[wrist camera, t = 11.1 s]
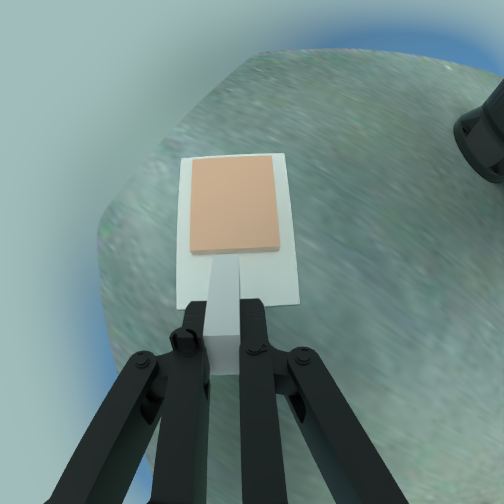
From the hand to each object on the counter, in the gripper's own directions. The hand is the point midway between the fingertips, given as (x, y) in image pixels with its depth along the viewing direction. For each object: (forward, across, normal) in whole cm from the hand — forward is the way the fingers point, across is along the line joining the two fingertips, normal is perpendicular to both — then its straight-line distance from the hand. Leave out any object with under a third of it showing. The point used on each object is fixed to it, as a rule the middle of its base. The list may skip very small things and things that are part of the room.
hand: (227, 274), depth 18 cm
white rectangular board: (+18, 0, -5) cm, 19 cm away
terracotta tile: (+14, 0, -6) cm, 15 cm away
